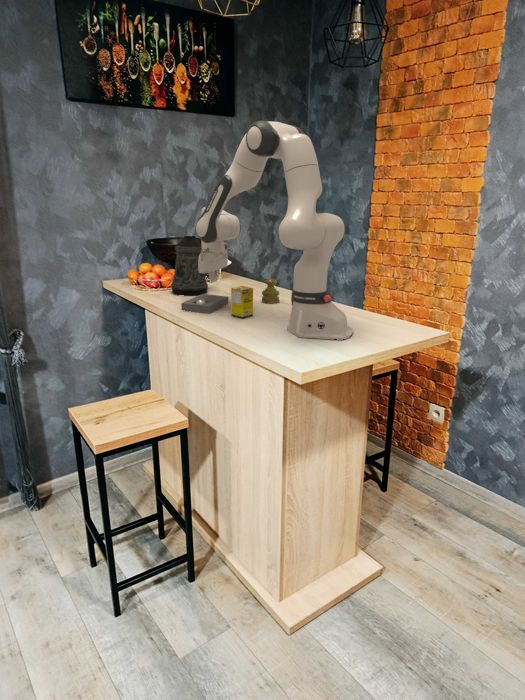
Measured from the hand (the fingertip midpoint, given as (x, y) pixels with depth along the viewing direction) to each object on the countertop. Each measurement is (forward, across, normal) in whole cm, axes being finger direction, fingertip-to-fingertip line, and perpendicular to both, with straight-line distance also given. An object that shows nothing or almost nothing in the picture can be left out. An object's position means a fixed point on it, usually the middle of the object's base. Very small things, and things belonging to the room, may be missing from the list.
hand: (213, 281), depth 201 cm
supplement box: (+10, -14, -18) cm, 25 cm away
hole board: (+9, -7, +1) cm, 12 cm away
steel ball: (+8, -10, +1) cm, 13 cm away
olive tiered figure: (+10, +12, -20) cm, 26 cm away
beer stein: (+9, +16, +20) cm, 27 cm away
